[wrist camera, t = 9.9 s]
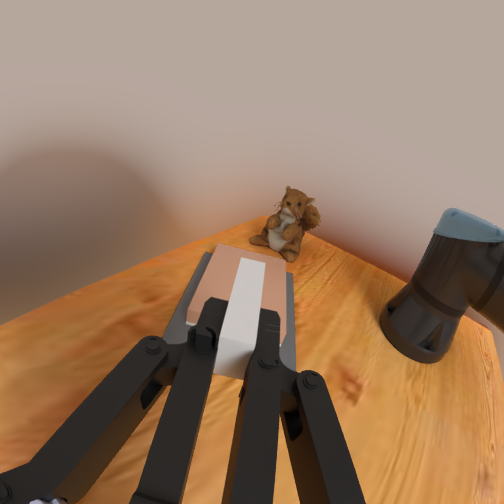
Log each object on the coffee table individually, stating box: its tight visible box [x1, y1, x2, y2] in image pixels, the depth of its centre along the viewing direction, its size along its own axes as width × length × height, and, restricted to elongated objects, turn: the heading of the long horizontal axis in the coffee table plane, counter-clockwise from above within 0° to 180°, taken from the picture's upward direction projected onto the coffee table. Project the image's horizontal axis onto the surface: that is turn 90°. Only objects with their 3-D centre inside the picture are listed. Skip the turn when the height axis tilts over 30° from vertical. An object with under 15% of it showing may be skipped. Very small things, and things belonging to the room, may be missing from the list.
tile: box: [186, 243, 286, 346], centre depth 40 cm, size 2×12×18 cm
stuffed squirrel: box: [250, 186, 321, 262], centre depth 56 cm, size 10×14×13 cm
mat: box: [162, 252, 296, 372], centre depth 38 cm, size 24×16×1 cm, turn 174°
